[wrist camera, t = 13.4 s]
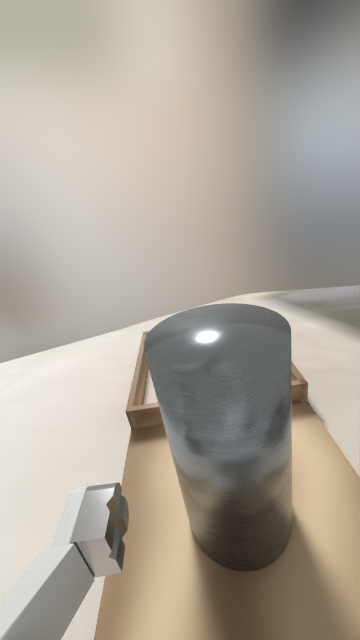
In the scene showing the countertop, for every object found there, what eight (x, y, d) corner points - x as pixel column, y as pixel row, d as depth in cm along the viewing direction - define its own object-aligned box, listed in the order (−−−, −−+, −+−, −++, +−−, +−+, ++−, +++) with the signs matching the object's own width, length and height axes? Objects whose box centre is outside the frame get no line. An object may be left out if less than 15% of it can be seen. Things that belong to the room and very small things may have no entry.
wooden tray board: (76, 767, 9) (51, 749, 8) (147, 347, 34) (143, 332, 34) (520, 722, 8) (546, 697, 7) (255, 329, 34) (254, 313, 33)
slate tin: (192, 579, 12) (135, 386, 8) (186, 470, 17) (149, 315, 13) (312, 563, 12) (322, 356, 8) (271, 457, 17) (262, 295, 13)
